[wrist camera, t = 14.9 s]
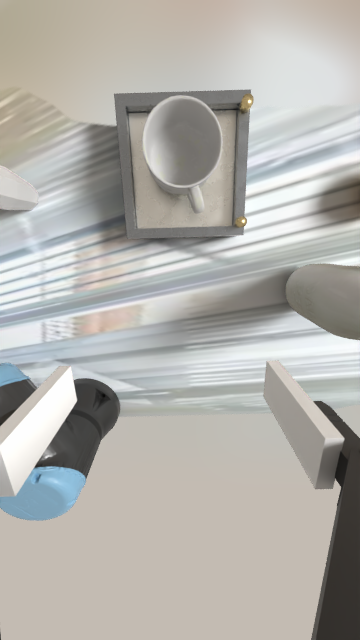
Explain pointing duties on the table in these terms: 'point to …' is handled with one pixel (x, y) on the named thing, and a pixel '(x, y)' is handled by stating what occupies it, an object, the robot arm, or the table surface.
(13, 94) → the table surface
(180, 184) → the teacup
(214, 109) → the grey serving tray
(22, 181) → the low poly bottle
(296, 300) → the grey bottle
